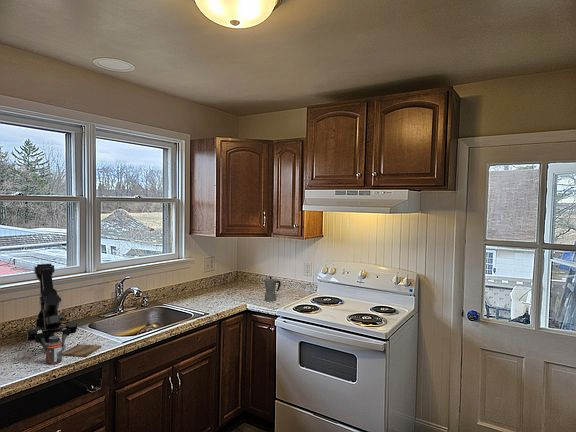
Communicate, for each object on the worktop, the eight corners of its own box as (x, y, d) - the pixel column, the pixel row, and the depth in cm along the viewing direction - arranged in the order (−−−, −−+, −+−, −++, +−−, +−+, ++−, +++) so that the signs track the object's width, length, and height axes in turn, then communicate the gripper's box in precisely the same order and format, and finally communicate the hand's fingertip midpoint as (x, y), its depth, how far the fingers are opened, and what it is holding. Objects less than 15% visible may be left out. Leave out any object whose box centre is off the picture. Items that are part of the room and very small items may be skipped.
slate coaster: (35, 352, 175) (35, 350, 175) (51, 344, 185) (51, 343, 185) (55, 353, 174) (55, 352, 174) (70, 345, 184) (70, 344, 184)
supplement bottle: (42, 363, 163) (42, 338, 163) (55, 358, 169) (55, 333, 168) (52, 366, 161) (52, 340, 161) (65, 360, 166) (65, 335, 166)
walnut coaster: (60, 355, 172) (60, 353, 172) (77, 346, 184) (77, 344, 184) (85, 357, 171) (85, 355, 171) (101, 347, 183) (101, 345, 183)
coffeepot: (259, 300, 279) (259, 276, 279) (266, 297, 288) (266, 274, 287) (277, 303, 272) (277, 278, 272) (283, 300, 280) (283, 276, 280)
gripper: (27, 311, 161) (29, 344, 153) (76, 304, 173) (81, 334, 165) (26, 324, 168) (28, 357, 159) (73, 317, 179) (77, 347, 171)
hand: (54, 348), depth 163 cm, fingers closed on supplement bottle, 6 cm apart
